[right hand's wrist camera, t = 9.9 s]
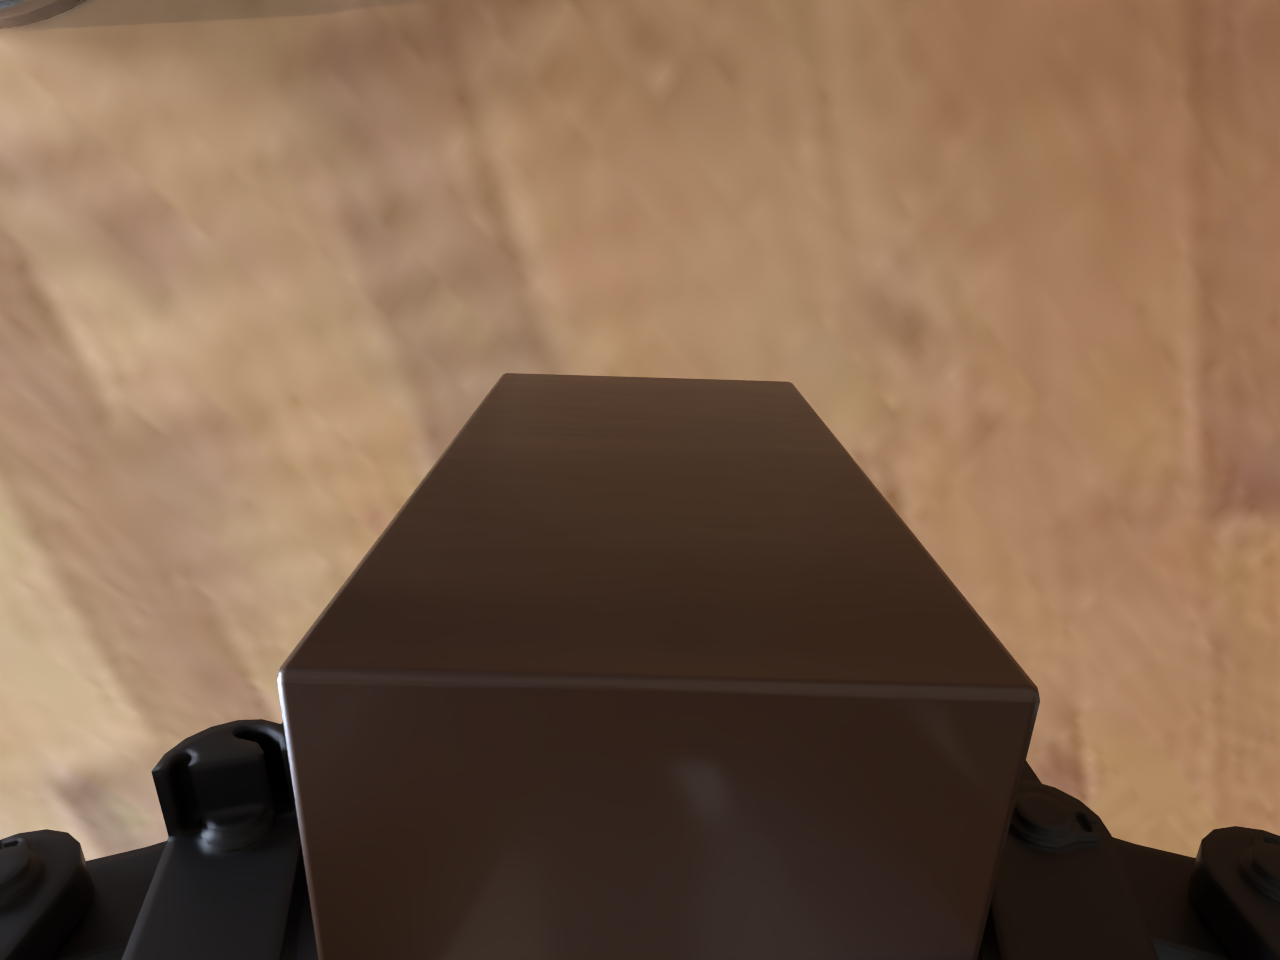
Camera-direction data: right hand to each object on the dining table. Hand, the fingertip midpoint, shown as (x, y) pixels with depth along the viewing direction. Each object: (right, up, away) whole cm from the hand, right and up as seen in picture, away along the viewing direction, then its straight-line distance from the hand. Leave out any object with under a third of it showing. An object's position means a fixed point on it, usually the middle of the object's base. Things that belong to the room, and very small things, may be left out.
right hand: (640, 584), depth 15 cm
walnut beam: (0, -11, +4) cm, 12 cm away
